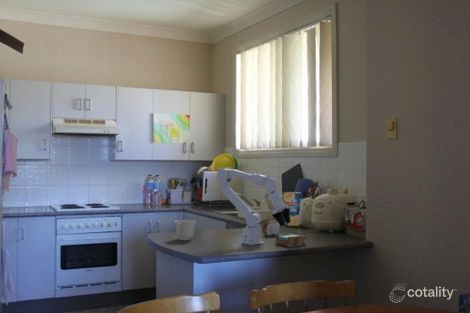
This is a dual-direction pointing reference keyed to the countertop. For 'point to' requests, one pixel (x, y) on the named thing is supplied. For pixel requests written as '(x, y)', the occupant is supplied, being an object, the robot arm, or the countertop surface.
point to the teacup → (184, 228)
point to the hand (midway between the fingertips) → (285, 224)
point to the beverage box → (293, 206)
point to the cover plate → (286, 236)
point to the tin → (271, 228)
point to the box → (290, 240)
